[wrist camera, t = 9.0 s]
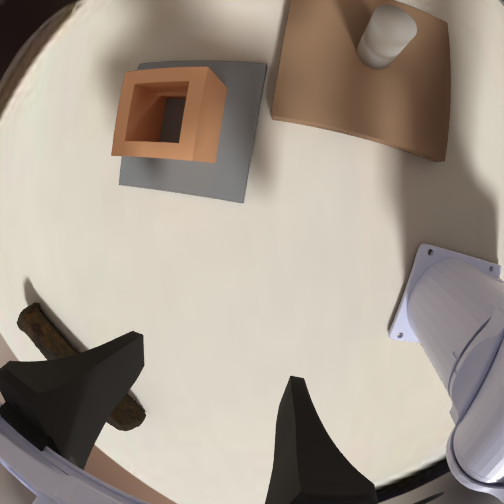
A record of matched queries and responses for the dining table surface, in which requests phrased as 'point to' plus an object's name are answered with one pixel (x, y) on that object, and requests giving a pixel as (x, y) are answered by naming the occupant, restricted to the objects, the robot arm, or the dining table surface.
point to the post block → (367, 73)
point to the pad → (230, 141)
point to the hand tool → (57, 347)
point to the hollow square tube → (152, 110)
